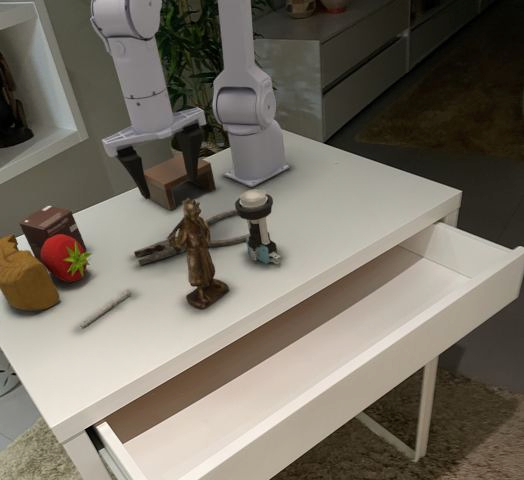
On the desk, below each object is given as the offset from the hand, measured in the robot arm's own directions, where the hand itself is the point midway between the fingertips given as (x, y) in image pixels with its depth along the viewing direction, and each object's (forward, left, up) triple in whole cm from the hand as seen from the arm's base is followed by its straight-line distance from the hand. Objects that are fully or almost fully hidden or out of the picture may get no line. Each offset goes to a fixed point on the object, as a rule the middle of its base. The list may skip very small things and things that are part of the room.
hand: (169, 187), depth 82 cm
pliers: (-2, +2, -10) cm, 11 cm away
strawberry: (+18, -12, -7) cm, 23 cm away
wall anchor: (+17, +4, -10) cm, 20 cm away
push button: (-6, +13, -10) cm, 17 cm away
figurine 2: (+23, -18, -8) cm, 30 cm away
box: (+15, -14, -10) cm, 23 cm away
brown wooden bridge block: (-10, -16, -10) cm, 21 cm away
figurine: (+6, +14, -10) cm, 18 cm away
